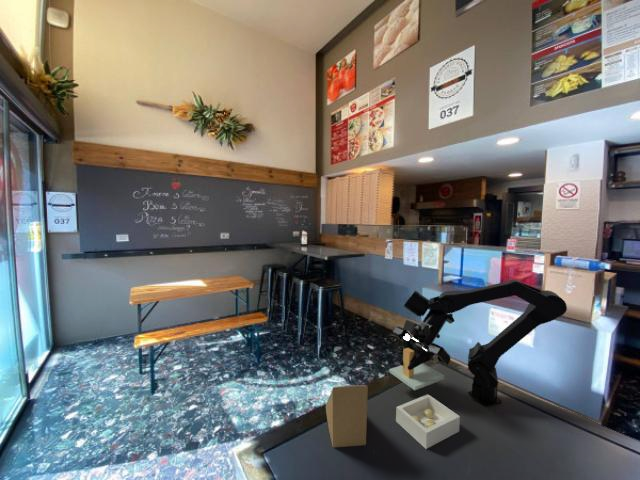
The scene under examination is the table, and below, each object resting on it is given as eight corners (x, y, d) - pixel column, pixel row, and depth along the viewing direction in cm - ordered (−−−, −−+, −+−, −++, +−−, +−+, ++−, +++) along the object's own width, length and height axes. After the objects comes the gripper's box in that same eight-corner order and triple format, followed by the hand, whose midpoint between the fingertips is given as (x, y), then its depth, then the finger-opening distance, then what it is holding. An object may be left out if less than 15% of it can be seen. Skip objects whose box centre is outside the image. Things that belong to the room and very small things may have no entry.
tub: (427, 407, 78) (428, 394, 78) (459, 431, 69) (459, 416, 69) (395, 421, 73) (396, 407, 72) (426, 449, 64) (426, 432, 64)
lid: (417, 365, 93) (418, 337, 92) (444, 381, 84) (445, 350, 83) (389, 375, 87) (389, 344, 87) (414, 393, 78) (415, 359, 77)
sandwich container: (353, 403, 80) (354, 353, 79) (367, 445, 65) (368, 385, 64) (324, 404, 79) (324, 355, 78) (331, 448, 64) (332, 387, 63)
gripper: (397, 302, 92) (371, 340, 88) (445, 320, 76) (415, 368, 72) (413, 321, 97) (389, 358, 92) (462, 342, 80) (435, 388, 76)
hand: (405, 367), depth 83 cm, fingers closed on lid, 2 cm apart
